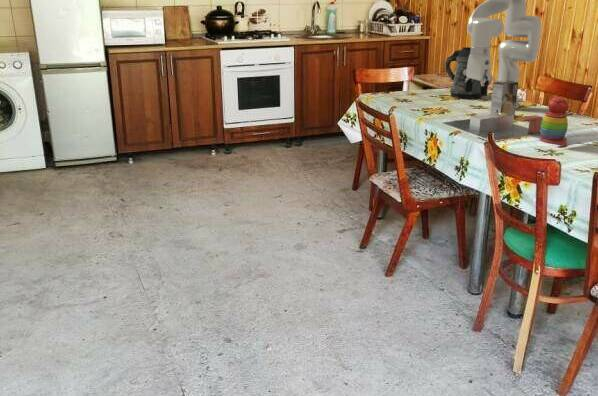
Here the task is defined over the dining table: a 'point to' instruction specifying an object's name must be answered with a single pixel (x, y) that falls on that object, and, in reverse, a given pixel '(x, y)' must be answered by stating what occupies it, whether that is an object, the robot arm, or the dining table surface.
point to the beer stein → (461, 76)
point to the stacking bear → (555, 122)
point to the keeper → (532, 122)
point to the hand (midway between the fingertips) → (475, 93)
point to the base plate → (498, 133)
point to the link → (491, 121)
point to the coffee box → (504, 97)
